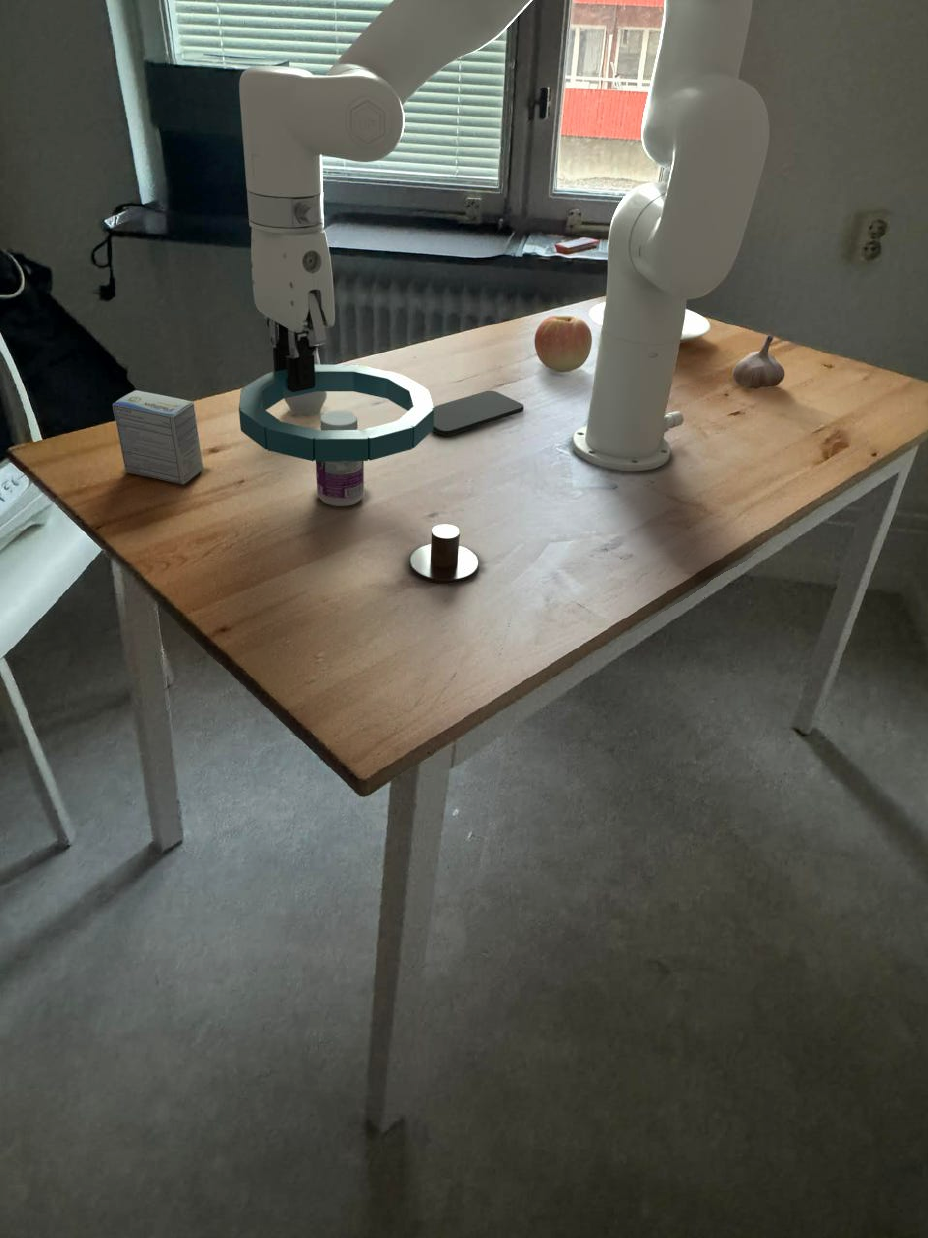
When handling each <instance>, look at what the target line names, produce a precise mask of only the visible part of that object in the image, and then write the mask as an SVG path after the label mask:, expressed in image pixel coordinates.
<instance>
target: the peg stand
mask: <svg viewBox="0 0 928 1238" xmlns="http://www.w3.org/2000/svg"><path fill="white" fill-rule="evenodd" d="M460 535H461V531H460V529H459V528H458V527H457V526H456V525H452V524H447V523H442V524H437V525H435V526H434V527H433V528H432V529H431V541H430V542H431V543H430V544H425V545H423V546H420V547H419V548H417V549H415V550H414V551H413V552H412V553H411V555H410V558H409V567H410V569H411V571H412V572H413V574H415V575H416V576H417V577H419V578H421V579H422V580H424V581H427V582H429V583H435V584H442V585H450V584H457V583H458V584H459V583H462V582H465V581H467V580H469V579H471V578H473V577H474V576H475V575H476V574H477V572H478V569H479V559H478V557H477V555H476V554H475V553H474V552H473V551H471V550H470V549H469V548H467V547H464V546H461V545H460V538H461V537H460Z"/></svg>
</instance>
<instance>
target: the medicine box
mask: <svg viewBox="0 0 928 1238" xmlns="http://www.w3.org/2000/svg"><path fill="white" fill-rule="evenodd" d="M112 410H113V414H114V420H115V425H116V431H117V436H118V440H119V441H118V442H119V446H120V451H121V457H122V462H123V466H124V467H123V468H124V471H125V473H129V474H135V475H138V476H143V477H147V478H148V477H149V478H151V479H157V480H161V481H166V482H169V483H175V484H180V485H182V486H183V485H186V484H187V483H188V482H189V481H191V480H192V479H193V478H195V476H197V475H198V474H199V473H201V472H202V471H203V470H204V464H203V463H204V462H203V456H202V450H201V449H202V448H201V442H200V435H199V428H198V422H197V413H196V408H195V403H194V402H193V401H192V400H187V399H182V398H177V397H173V396H168V395H163V394H158V393H152V392H147V391H143V390H133V391H131V392H129V393H127V394H125V395H124V396H122V397H120V398H119V399H117V400H116V401H115V402H113V403H112Z"/></svg>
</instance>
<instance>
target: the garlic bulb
mask: <svg viewBox="0 0 928 1238" xmlns="http://www.w3.org/2000/svg"><path fill="white" fill-rule="evenodd" d="M773 340H774V336H773V334H768V335H767V337H766V339H765V341H764V343H763V345H762V347H761V348H760V351H753V352H750V353H748V354H747V355H746V356H745V357H744V358H742V359H741V360H739V361H737V362H736V364H735V365H734V366H733V371H732V378H733V381H734V382H736V384H737V385H739V386H742V387H745V388H747V389H750V390H752V389H754V390H757V389H760V388H770V387H777V386H778V385H780V384H781V383H782V382H783V380H784V378H785V369H784V367H783V366H782V365H781V363H779V362H778V360H777V359H776V357H775V356H774V355H772V354H771V353H769V349H770V345H771V343H772V342H773Z"/></svg>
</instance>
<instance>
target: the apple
mask: <svg viewBox="0 0 928 1238" xmlns="http://www.w3.org/2000/svg"><path fill="white" fill-rule="evenodd" d="M592 336H593V335H592V332H591V329H590V326H589V325H588V323H586V322H585V321H584V320H582V318H579V317H577V316H571V315H570V316H569V315H552V316H548V317H547V318H545V319H543V320H542V322H540V324H539V325H538V327H537V329H536V330H535V333H534V339H533V340H534V342H533V343H534V348H535V353H536V355H537V357H538V360H539V361H540V362H541V363H542V364H543V365H544V366H545V367H546V368H548V369H549V370H551V371H553V372H556V373H569V372H572V371H574V370H577V369H579V368H581V366H583V365H584V364H585V362H586V361H587V359H588V358H589V356H590V353H591V350H592V345H593V344H592V343H593V337H592Z"/></svg>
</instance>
